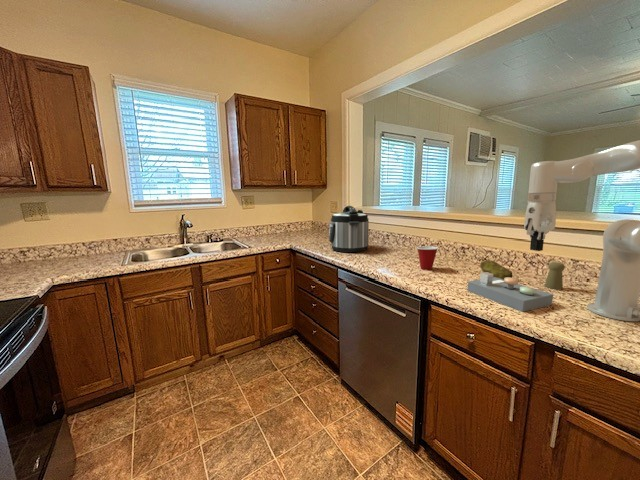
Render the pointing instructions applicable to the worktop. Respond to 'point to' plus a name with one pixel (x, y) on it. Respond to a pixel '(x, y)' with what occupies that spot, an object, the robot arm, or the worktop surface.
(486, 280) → the slider knob
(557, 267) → the cork
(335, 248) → the pressure cooker
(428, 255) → the plastic cup
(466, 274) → the worktop surface
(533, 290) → the sage button
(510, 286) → the peach knob
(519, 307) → the panel
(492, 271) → the potato
